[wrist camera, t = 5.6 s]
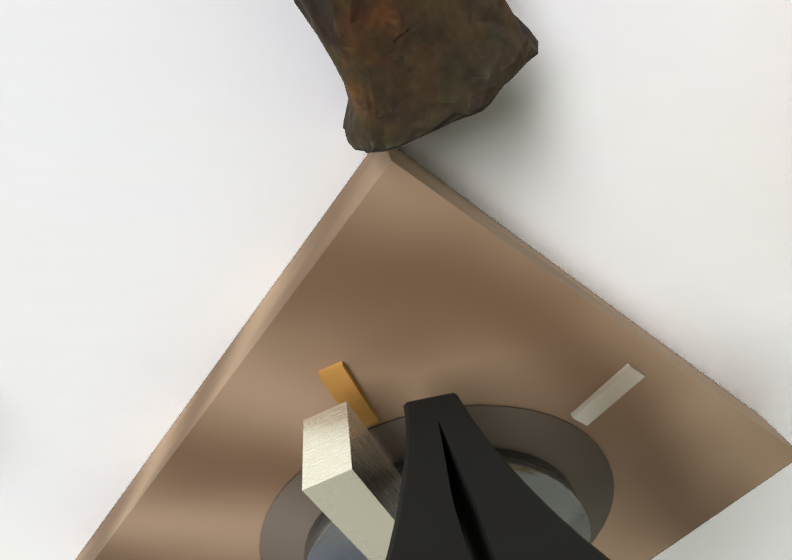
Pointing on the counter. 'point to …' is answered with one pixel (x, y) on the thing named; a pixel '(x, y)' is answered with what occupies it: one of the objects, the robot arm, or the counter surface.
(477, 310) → the dial board
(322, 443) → the dial
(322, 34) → the brown rough bar
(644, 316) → the counter surface
